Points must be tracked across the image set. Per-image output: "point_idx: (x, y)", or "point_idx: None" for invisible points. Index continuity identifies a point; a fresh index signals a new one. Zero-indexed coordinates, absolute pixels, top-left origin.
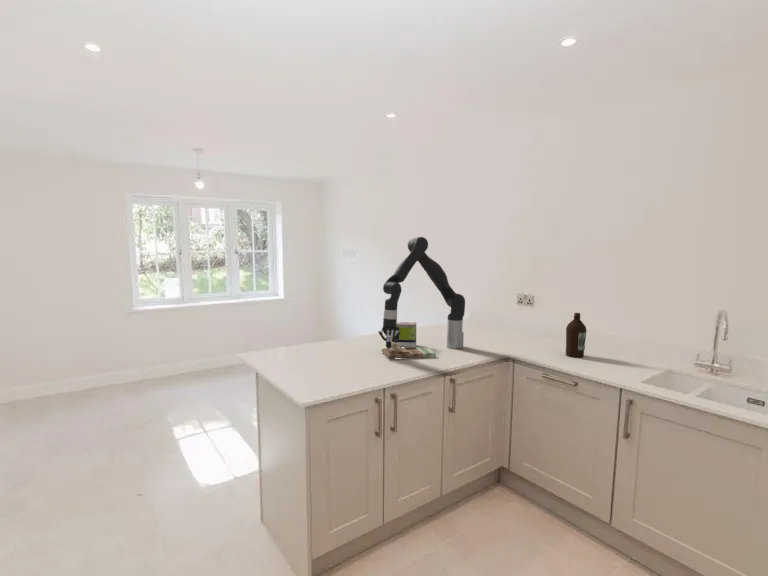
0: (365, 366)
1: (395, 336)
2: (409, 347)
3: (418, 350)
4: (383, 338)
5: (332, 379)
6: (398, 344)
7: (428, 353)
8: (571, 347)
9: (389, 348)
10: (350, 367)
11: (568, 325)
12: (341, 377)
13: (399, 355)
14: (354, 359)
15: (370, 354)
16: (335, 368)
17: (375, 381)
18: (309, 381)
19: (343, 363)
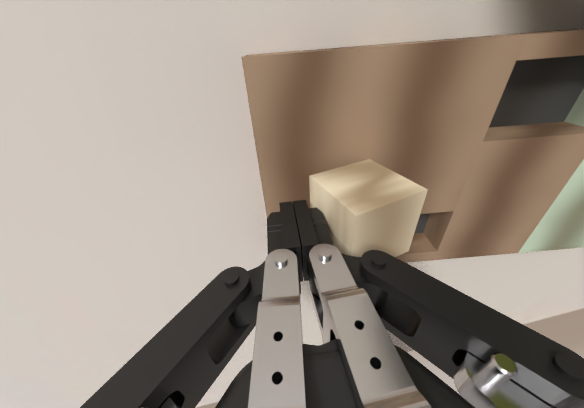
0: (157, 321)
1: (411, 344)
2: None
3: (560, 180)
4: (221, 337)
5: (80, 390)
6: (414, 222)
7: (552, 248)
8: None
9: (334, 67)
10: (90, 328)
11: None
12: (101, 383)
13: None
14: (47, 233)
15: (131, 111)
16: (25, 335)
17: (211, 395)
18: (16, 398)
19: (19, 289)
